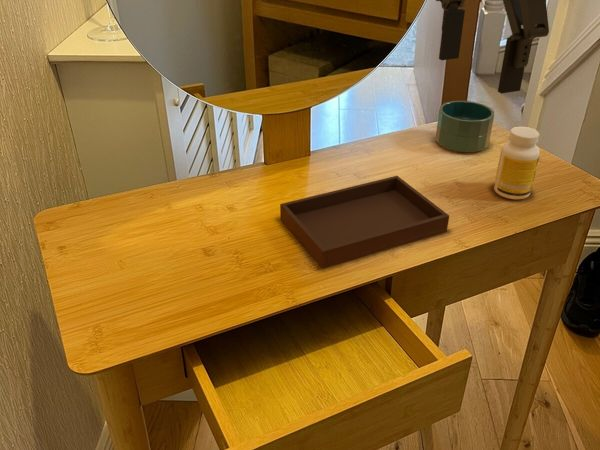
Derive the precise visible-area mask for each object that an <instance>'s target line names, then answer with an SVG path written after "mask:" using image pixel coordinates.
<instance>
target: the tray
mask: <svg viewBox="0 0 600 450" xmlns="http://www.w3.org/2000/svg"><path fill="white" fill-rule="evenodd" d="M279 212H280V213H279V215H280V218H279V219H280V222H282V224H283V225H284V226H285V228H287V230H288V231H289V232H290V233H291V234H292V235H293V237H294V238H296V240H297V241H298V242H299V243H300V244H301V245H302V246H303V248H304V249H305V250H306V251H307V252H308V253H309V255H310V256H311V257H312V258H313V259H314V261H315V262H316V263H317V265H319V266H320V268H321V269H325V268H328V267H332V266H334V265H335V266H336V265H338V264H341V263H346V262H348V261H352V260H355V259H358V258H362V257H365V256H368V255H372V254H375V253H379V252H382V251H386V250H389V249H393V248H396V247H399V246H403V245H407V244H410V243H413V242H417V241H420V240H423V239H426V238H427V239H428V238H430V237H433V236H437V235H440V234H444V233H447V232H448V228H449V227H448V226H449V221H450V215H449V214H448V213H447V212H446V211H444V210H443V209H441V208H440V207H439V206H437V205H436V204H435V203H434V202H432V201H431V200H429V198H427V197H426V196H425V195H423V194H422V193H421V192H420V191H418V190H417V189H415V188H414V187H413V186H411V185H410V184H409V183H408V182H406V181H405V180H404V179H403V178H401V177H400V176H398V175H394V176H389V177H385V178H381V179H377V180H373V181H368V182H365V183H361V184H356V185H353V186H348V187H344V188H340V189H336V190H332V191H327V192H323V193H321V194H320V193H319V194H315V195H312V196H307V197H304V198H298V199H294V200H291V201H287V202H283V203H280V204H279Z"/></svg>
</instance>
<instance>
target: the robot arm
mask: <svg viewBox="0 0 600 450" xmlns="http://www.w3.org/2000/svg"><path fill="white" fill-rule="evenodd" d="M435 1H436V2H440V3H441V4H440V5H441V8H442V9H443V13H442V21H441V36H440V38H441V39H440V45H439V54H438V59H439V60H440V61H448V60H455V59H459V58H460V50H461V43H462V34H463V28H464V21H465V14H466V10H465V9H463V8H465V7H466V3H465V1H466V0H435ZM502 3H503V6H504V10H505V13H506V16H507V21H508V24H509V27H510V31H511V35H509V36H508V37H507V38H506V41H505V48H504V53H503V59H502V64H501V71H500V77H499V80H498V81H499V82H498V87H497V93H500V94H508V93H515V92H520V91H521V87H522V82H523V77H524V73H525V67H527V65H528V64H529V59H530V54H531V49H532V44H533V41H534V39H537V38H545V37H548V35H549V34H550V27H549V19H548V18H549V17H548V8H547V0H502Z"/></svg>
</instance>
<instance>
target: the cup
mask: <svg viewBox="0 0 600 450" xmlns="http://www.w3.org/2000/svg"><path fill="white" fill-rule="evenodd" d="M494 119H495V111H494V109H493V108H491V107H490V106H487V105H485V104H483V103H479V102H476V101H471V100H469V101H468V100H452V101H447V102H444V103H442V104H441V105H439V109H438V117H437V123H436V124H437V125H436V131H435V141H436V142H437V144H438V145H440V146H441V147H443V148H445V149H447V150H450V151H453V152H458V153H474V152H475V153H476V152H480V151H483V150H486V149H487V148H488V146H490V141H491V136H492V130H493V124H494Z"/></svg>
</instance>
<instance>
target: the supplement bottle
mask: <svg viewBox="0 0 600 450" xmlns="http://www.w3.org/2000/svg"><path fill="white" fill-rule="evenodd" d="M539 138H540V132H539V131H538V130H537V129H535V128H532V127H528V126H514V127H512V128H511V129H510V131H509V135H508V140H507V141H505V142H504V143H503V144H502V146H501V149H500V154H499V159H498V164H497V169H496V173H495V174H496V175H495V178H494V183H493V190H494V192H495V193H496V194H498V196H500V197H503V198H506V199H509V200H523V199H527V198H528V197H529V196H530V195H531V193H532V189H533V184H534V180H535V177H536V173H537V168H538V165H539V160H540V155H541V149H540V148H539V146H537V145H538V142H539Z"/></svg>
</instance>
